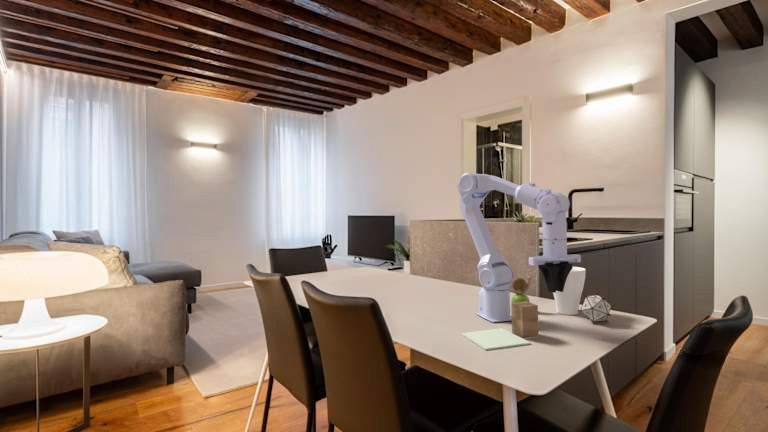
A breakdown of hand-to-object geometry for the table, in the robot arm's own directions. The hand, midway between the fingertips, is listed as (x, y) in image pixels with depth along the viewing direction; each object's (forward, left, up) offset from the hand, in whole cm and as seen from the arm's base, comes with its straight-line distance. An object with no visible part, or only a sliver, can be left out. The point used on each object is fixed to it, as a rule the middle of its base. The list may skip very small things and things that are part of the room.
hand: (555, 291), depth 100 cm
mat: (0, -18, -10) cm, 21 cm away
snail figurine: (-21, +4, -11) cm, 24 cm away
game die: (-3, +15, -11) cm, 19 cm away
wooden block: (0, -10, -10) cm, 14 cm away
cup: (-14, +15, -11) cm, 23 cm away
